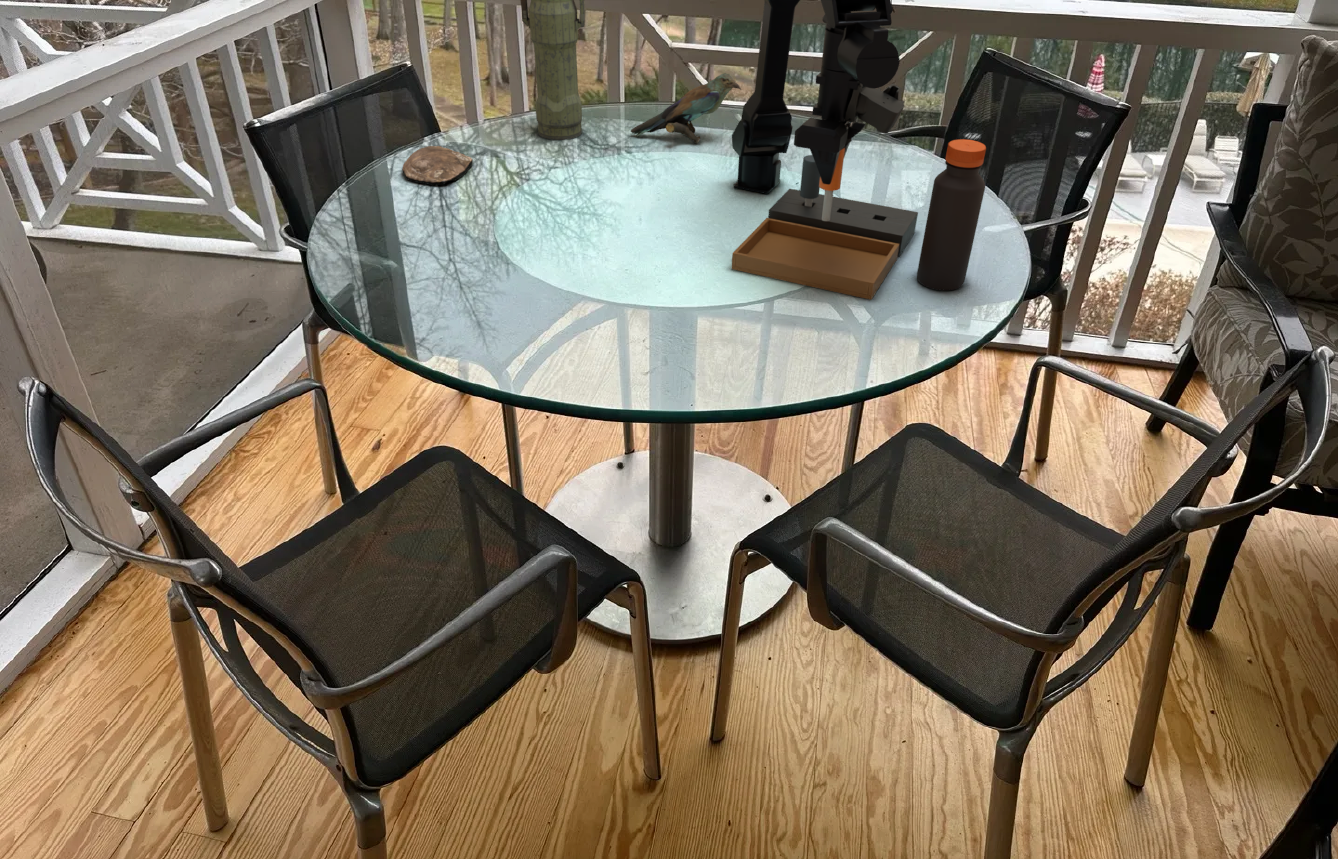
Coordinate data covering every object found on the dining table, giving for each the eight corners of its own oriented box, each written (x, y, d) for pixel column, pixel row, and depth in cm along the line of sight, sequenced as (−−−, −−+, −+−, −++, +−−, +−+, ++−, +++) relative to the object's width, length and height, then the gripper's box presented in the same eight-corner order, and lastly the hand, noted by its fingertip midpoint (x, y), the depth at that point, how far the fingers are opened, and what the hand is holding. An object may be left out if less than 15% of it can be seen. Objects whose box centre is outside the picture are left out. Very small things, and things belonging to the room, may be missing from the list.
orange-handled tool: (812, 221, 136) (820, 146, 130) (819, 214, 138) (827, 140, 132) (832, 225, 135) (841, 150, 129) (838, 217, 137) (847, 143, 131)
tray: (731, 269, 139) (732, 252, 137) (765, 232, 149) (766, 217, 147) (871, 299, 131) (873, 283, 130) (896, 259, 142) (899, 243, 140)
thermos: (532, 124, 190) (517, -70, 169) (590, 125, 190) (583, -69, 169) (527, 139, 182) (511, -61, 162) (588, 140, 183) (580, -61, 162)
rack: (899, 257, 142) (902, 235, 140) (767, 230, 150) (768, 209, 148) (914, 232, 150) (918, 211, 147) (787, 208, 157) (789, 188, 155)
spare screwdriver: (794, 226, 151) (800, 159, 144) (800, 219, 153) (807, 153, 147) (812, 229, 150) (819, 162, 143) (818, 222, 152) (825, 156, 146)
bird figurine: (624, 141, 180) (679, 50, 169) (633, 125, 188) (686, 38, 177) (682, 180, 182) (741, 93, 172) (688, 163, 190) (744, 79, 180)
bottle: (973, 288, 134) (1003, 151, 122) (930, 294, 133) (957, 156, 121) (948, 267, 140) (976, 134, 128) (907, 273, 138) (931, 138, 126)
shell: (388, 180, 165) (385, 160, 163) (423, 155, 175) (420, 136, 173) (448, 187, 162) (445, 167, 160) (479, 162, 172) (477, 143, 170)
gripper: (884, 93, 114) (867, 214, 124) (920, 56, 128) (902, 167, 137) (798, 81, 118) (787, 199, 127) (841, 46, 132) (829, 155, 141)
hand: (830, 179), depth 133 cm, fingers closed on orange-handled tool, 3 cm apart
